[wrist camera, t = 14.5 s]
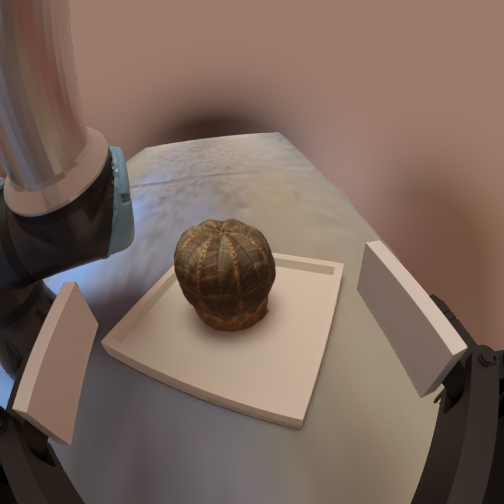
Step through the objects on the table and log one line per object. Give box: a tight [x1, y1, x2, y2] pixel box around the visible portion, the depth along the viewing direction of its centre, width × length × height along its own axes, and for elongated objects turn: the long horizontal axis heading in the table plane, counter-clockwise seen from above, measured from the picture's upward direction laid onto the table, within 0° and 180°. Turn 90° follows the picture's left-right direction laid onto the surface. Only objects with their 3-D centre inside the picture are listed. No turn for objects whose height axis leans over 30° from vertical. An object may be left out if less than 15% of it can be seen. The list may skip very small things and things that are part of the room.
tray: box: [101, 253, 344, 430], centre depth 34 cm, size 24×24×2 cm
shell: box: [174, 219, 276, 332], centre depth 31 cm, size 11×11×12 cm
